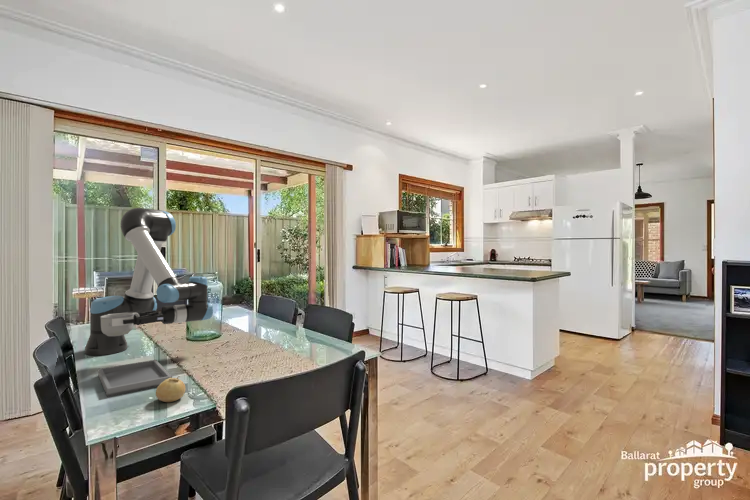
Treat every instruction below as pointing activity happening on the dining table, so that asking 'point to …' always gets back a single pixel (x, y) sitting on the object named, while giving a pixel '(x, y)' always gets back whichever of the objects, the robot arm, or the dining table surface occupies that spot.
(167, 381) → the onion
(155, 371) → the tray
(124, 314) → the teacup
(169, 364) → the dining table surface
